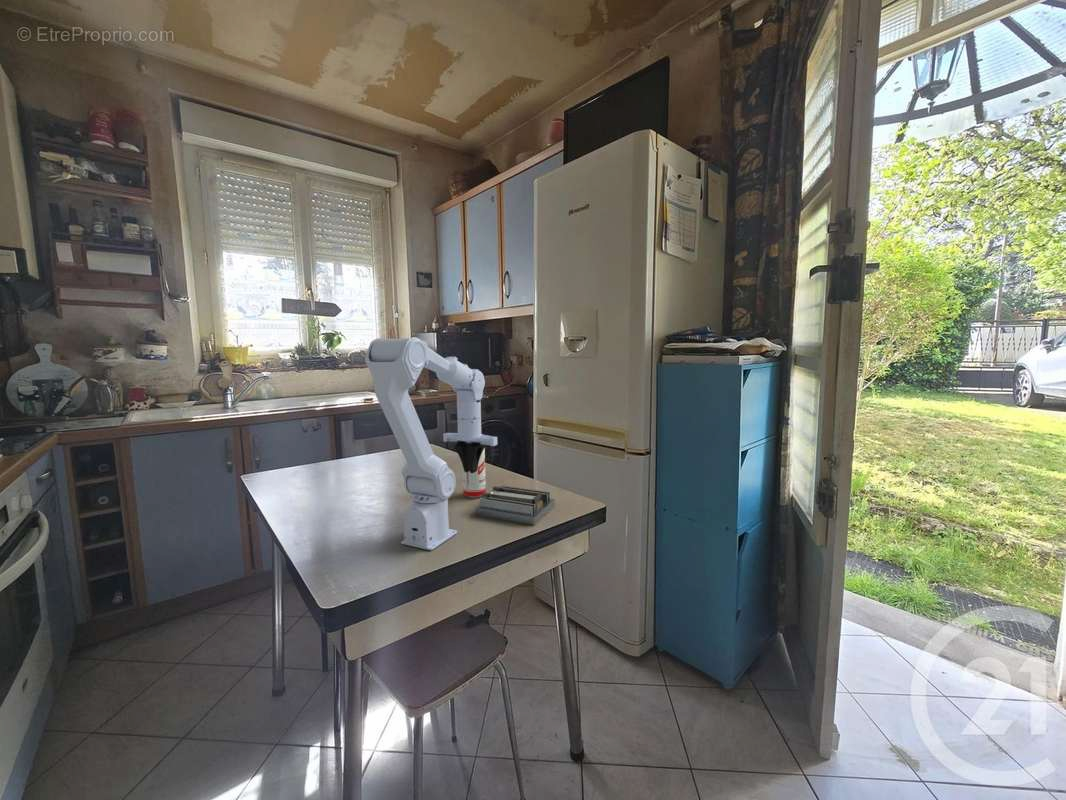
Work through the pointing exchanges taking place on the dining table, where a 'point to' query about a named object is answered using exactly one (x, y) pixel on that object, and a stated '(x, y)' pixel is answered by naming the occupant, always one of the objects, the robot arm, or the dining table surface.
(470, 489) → the beer can
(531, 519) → the heatsink block
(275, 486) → the dining table surface
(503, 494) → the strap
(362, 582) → the dining table surface
